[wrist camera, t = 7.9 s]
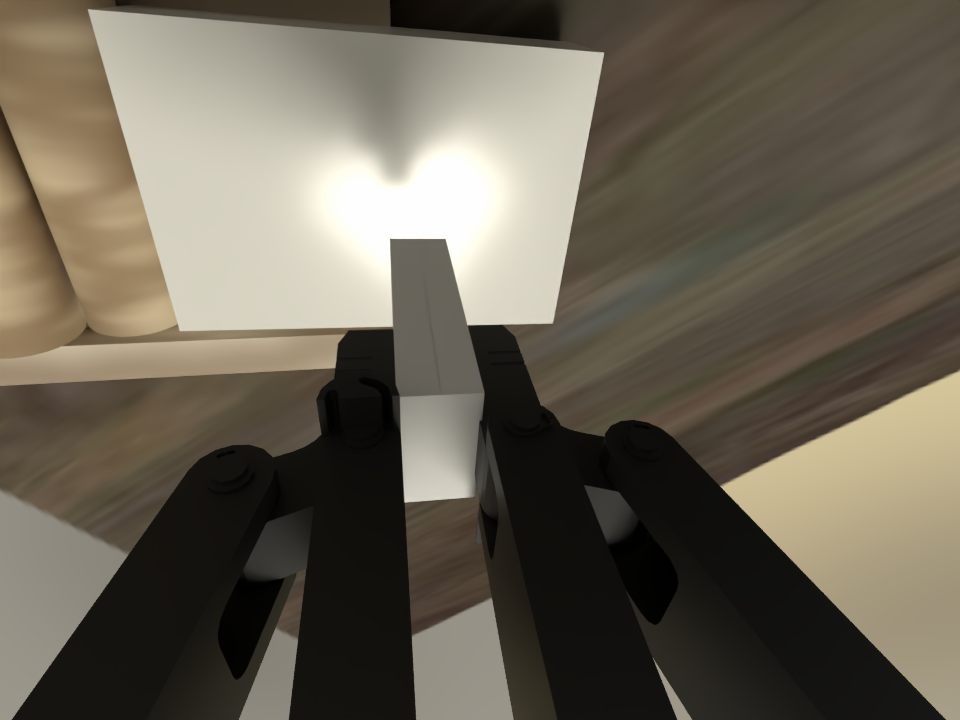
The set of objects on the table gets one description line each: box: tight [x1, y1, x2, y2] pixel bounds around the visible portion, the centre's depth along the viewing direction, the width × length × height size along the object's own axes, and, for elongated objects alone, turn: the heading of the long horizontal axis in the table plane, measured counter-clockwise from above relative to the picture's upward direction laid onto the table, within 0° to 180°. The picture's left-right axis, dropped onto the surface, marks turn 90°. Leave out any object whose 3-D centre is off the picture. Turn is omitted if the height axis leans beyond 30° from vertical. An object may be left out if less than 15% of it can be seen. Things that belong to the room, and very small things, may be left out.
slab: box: [88, 4, 604, 331], centre depth 21 cm, size 11×16×4 cm
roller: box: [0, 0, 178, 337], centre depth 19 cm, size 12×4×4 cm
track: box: [0, 0, 393, 386], centre depth 18 cm, size 18×26×10 cm
